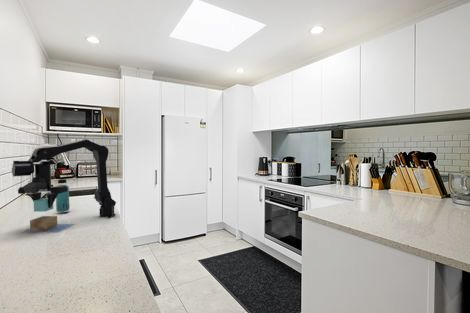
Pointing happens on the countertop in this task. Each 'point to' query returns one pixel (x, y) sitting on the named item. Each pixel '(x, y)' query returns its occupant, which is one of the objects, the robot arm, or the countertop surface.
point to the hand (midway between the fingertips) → (43, 207)
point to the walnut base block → (43, 223)
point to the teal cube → (41, 205)
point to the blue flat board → (53, 230)
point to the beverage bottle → (62, 199)
